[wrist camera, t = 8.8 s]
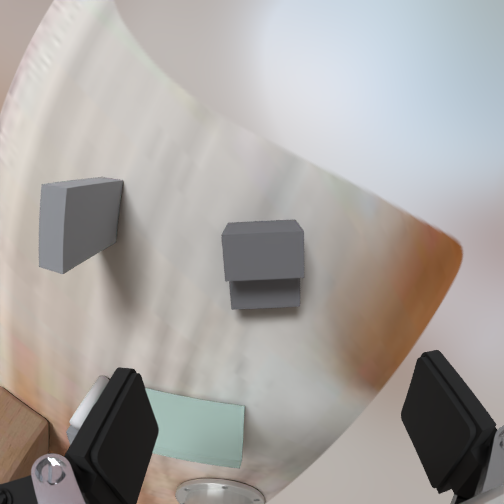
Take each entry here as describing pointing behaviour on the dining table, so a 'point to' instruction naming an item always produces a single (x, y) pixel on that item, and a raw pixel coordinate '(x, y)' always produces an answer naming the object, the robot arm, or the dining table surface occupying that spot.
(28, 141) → the dining table surface
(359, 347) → the dining table surface
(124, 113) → the dining table surface
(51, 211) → the door frame
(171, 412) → the door
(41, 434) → the wooden block
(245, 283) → the dark grey stepped block
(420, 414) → the robot arm
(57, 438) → the dining table surface
